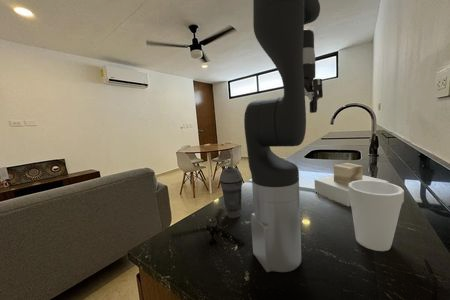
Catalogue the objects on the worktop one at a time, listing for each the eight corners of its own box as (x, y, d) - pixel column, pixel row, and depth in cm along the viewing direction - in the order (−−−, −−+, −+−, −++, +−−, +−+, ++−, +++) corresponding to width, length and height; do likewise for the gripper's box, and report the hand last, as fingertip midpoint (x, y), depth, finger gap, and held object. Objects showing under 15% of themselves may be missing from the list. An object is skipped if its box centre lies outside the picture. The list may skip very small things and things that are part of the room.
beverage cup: (233, 207, 67) (228, 150, 64) (250, 213, 61) (245, 151, 58) (218, 215, 62) (212, 154, 59) (234, 222, 56) (229, 156, 53)
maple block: (349, 186, 63) (349, 168, 63) (333, 181, 69) (333, 165, 68) (362, 182, 65) (362, 165, 64) (346, 178, 71) (346, 162, 70)
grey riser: (348, 206, 60) (348, 191, 59) (314, 192, 73) (314, 179, 73) (388, 195, 65) (388, 181, 65) (350, 183, 79) (350, 172, 78)
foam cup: (347, 226, 50) (347, 178, 48) (394, 234, 45) (396, 181, 43) (349, 249, 42) (349, 192, 40) (406, 261, 37) (410, 198, 35)
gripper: (281, 71, 71) (283, 115, 73) (309, 58, 58) (310, 112, 60) (298, 71, 73) (299, 114, 76) (328, 58, 60) (329, 111, 62)
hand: (304, 113), depth 68 cm, fingers open, 8 cm apart
